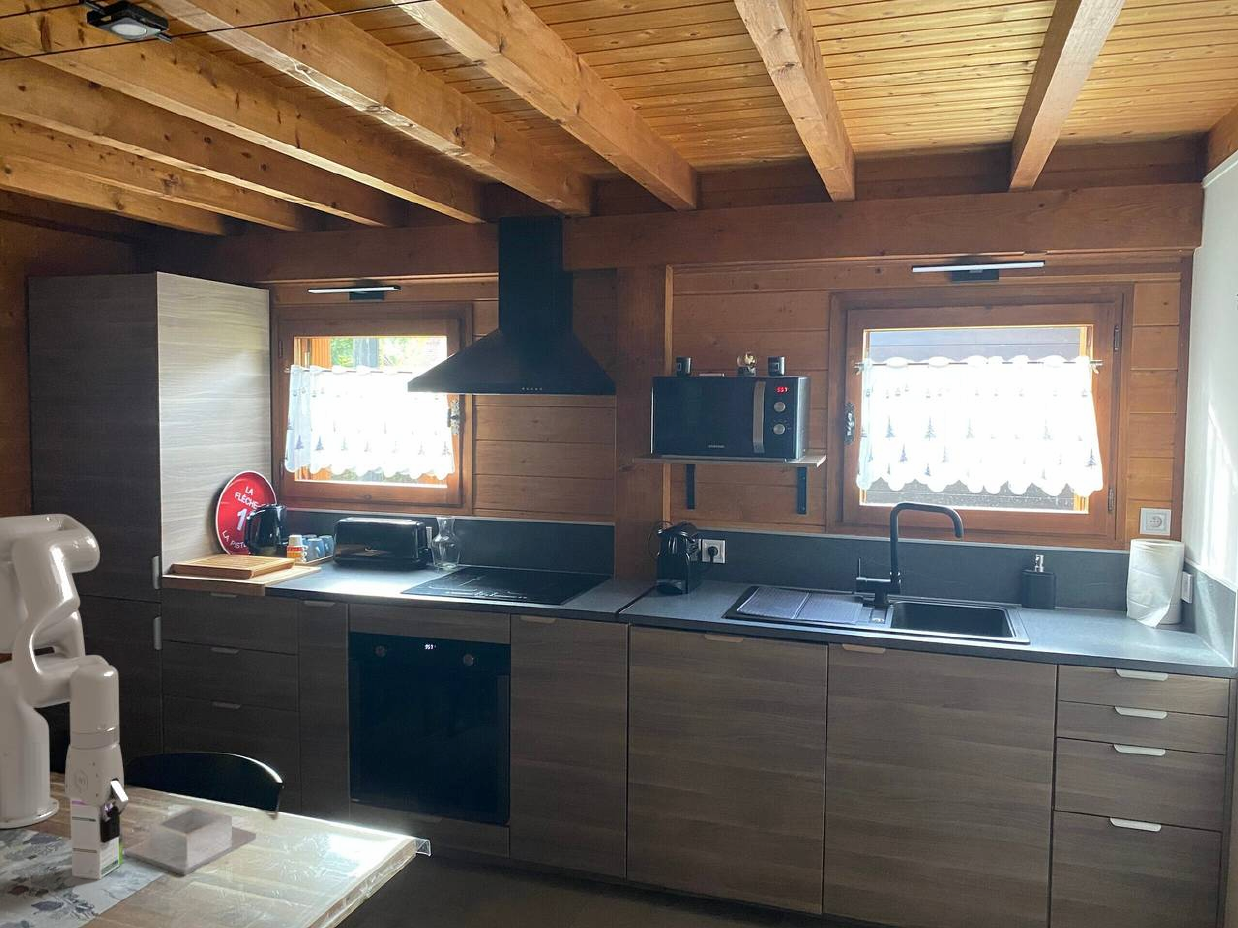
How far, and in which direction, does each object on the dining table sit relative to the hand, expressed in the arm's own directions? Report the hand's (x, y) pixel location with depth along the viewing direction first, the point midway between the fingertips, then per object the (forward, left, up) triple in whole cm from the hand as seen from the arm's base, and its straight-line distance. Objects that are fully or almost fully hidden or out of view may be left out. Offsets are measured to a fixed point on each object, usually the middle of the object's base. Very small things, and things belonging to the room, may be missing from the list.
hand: (96, 833), depth 166 cm
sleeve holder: (+7, +14, -7) cm, 17 cm away
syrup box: (0, 0, -7) cm, 7 cm away
